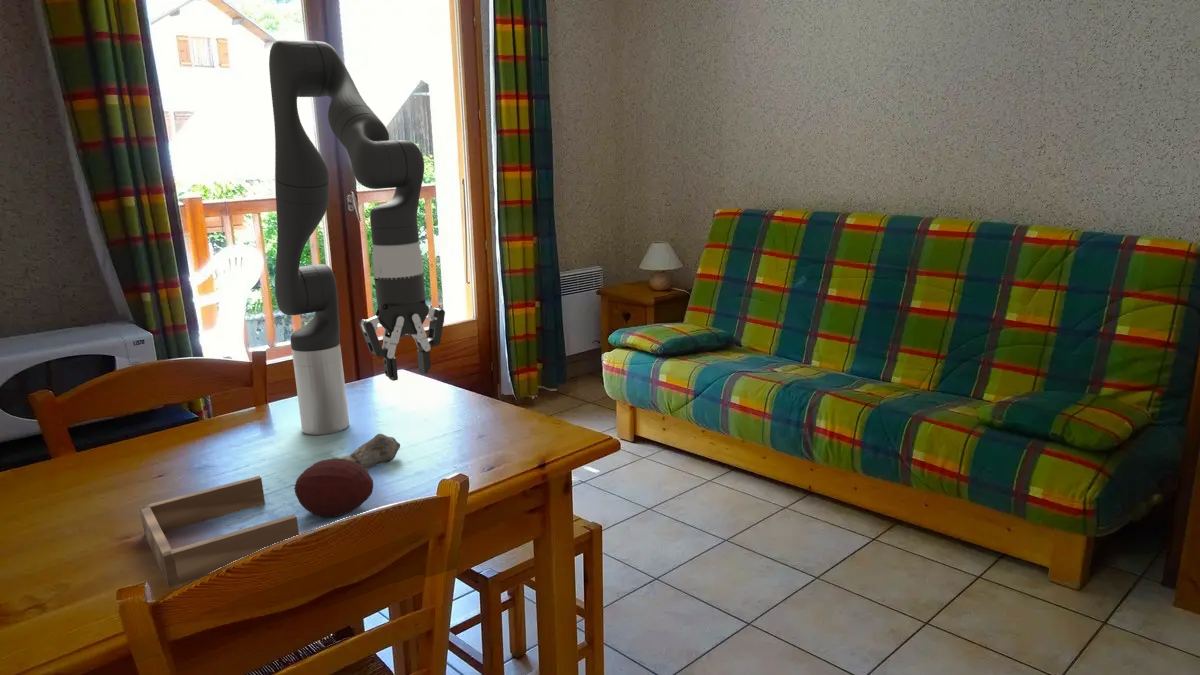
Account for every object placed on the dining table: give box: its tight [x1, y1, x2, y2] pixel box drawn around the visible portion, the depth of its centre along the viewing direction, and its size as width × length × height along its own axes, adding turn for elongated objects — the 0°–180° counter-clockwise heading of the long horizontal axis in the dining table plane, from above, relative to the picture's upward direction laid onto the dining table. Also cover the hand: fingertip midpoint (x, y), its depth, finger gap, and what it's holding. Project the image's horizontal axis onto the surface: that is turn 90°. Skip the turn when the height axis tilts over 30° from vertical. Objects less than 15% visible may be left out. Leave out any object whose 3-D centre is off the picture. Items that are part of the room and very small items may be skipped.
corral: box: [139, 475, 300, 588], centre depth 119 cm, size 19×17×4 cm
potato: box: [293, 458, 374, 518], centre depth 127 cm, size 12×11×8 cm
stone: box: [339, 433, 401, 470], centre depth 145 cm, size 10×5×8 cm
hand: (408, 375), depth 131 cm, fingers open, 4 cm apart
